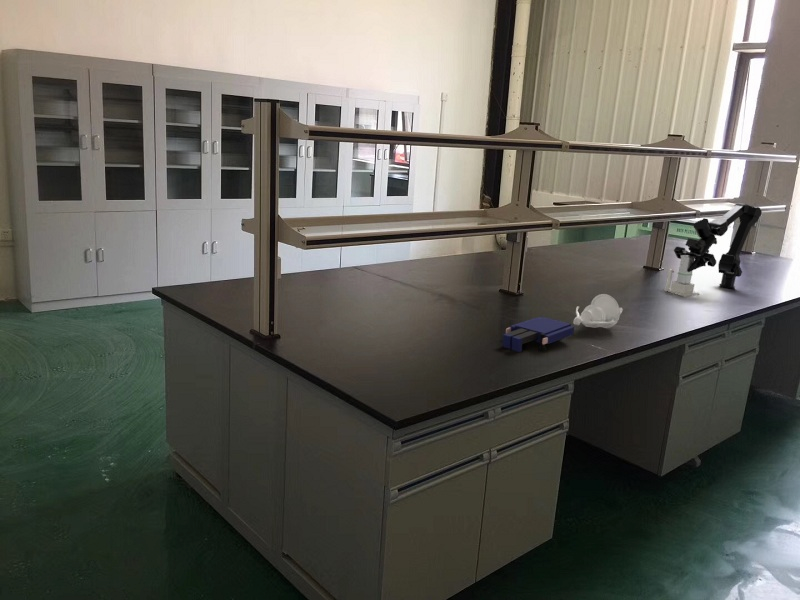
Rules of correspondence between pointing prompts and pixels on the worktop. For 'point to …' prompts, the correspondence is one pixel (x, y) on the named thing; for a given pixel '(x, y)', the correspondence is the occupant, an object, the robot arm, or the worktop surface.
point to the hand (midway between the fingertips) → (683, 270)
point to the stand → (679, 287)
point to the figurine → (599, 313)
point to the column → (685, 269)
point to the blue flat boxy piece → (536, 333)
